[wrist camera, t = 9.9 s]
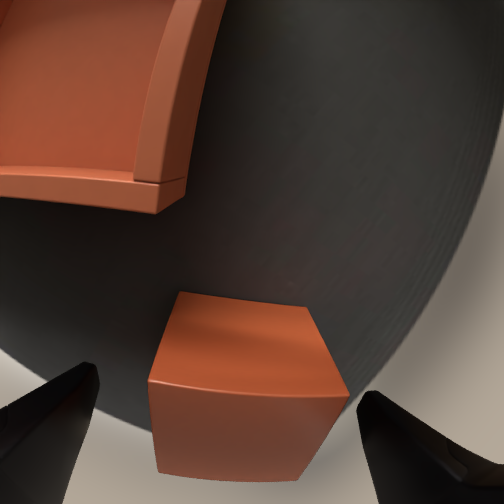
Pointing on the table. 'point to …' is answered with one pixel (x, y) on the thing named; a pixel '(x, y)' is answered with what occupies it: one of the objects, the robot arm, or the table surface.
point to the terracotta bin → (102, 98)
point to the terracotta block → (241, 390)
